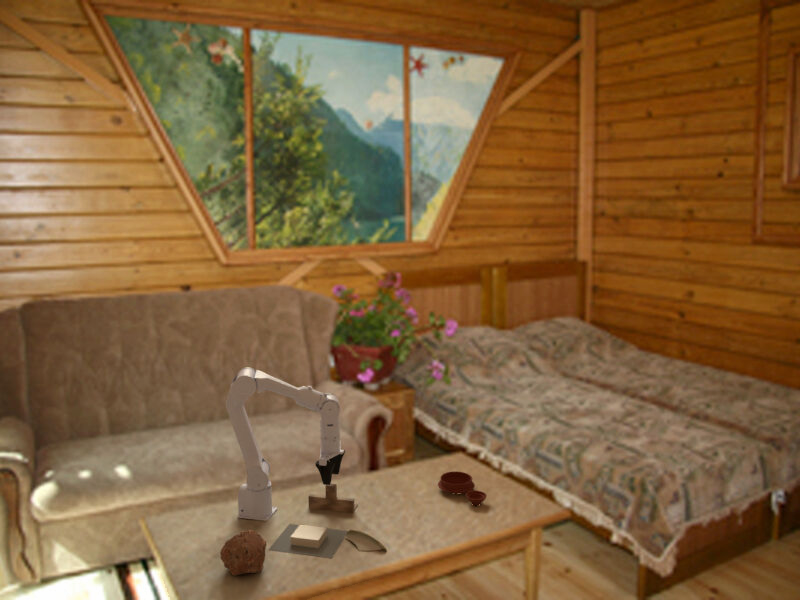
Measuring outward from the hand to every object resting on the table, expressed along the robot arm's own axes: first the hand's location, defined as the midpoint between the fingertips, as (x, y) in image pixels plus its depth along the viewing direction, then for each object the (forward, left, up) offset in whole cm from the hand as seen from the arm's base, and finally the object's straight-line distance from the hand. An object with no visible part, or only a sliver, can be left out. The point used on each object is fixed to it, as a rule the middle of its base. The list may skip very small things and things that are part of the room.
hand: (331, 478), depth 214 cm
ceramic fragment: (+15, -17, -11) cm, 25 cm away
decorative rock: (-11, -36, -10) cm, 39 cm away
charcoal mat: (0, -19, -10) cm, 21 cm away
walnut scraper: (0, +2, -10) cm, 10 cm away
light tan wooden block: (0, -16, -8) cm, 18 cm away
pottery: (+37, +19, -10) cm, 43 cm away
